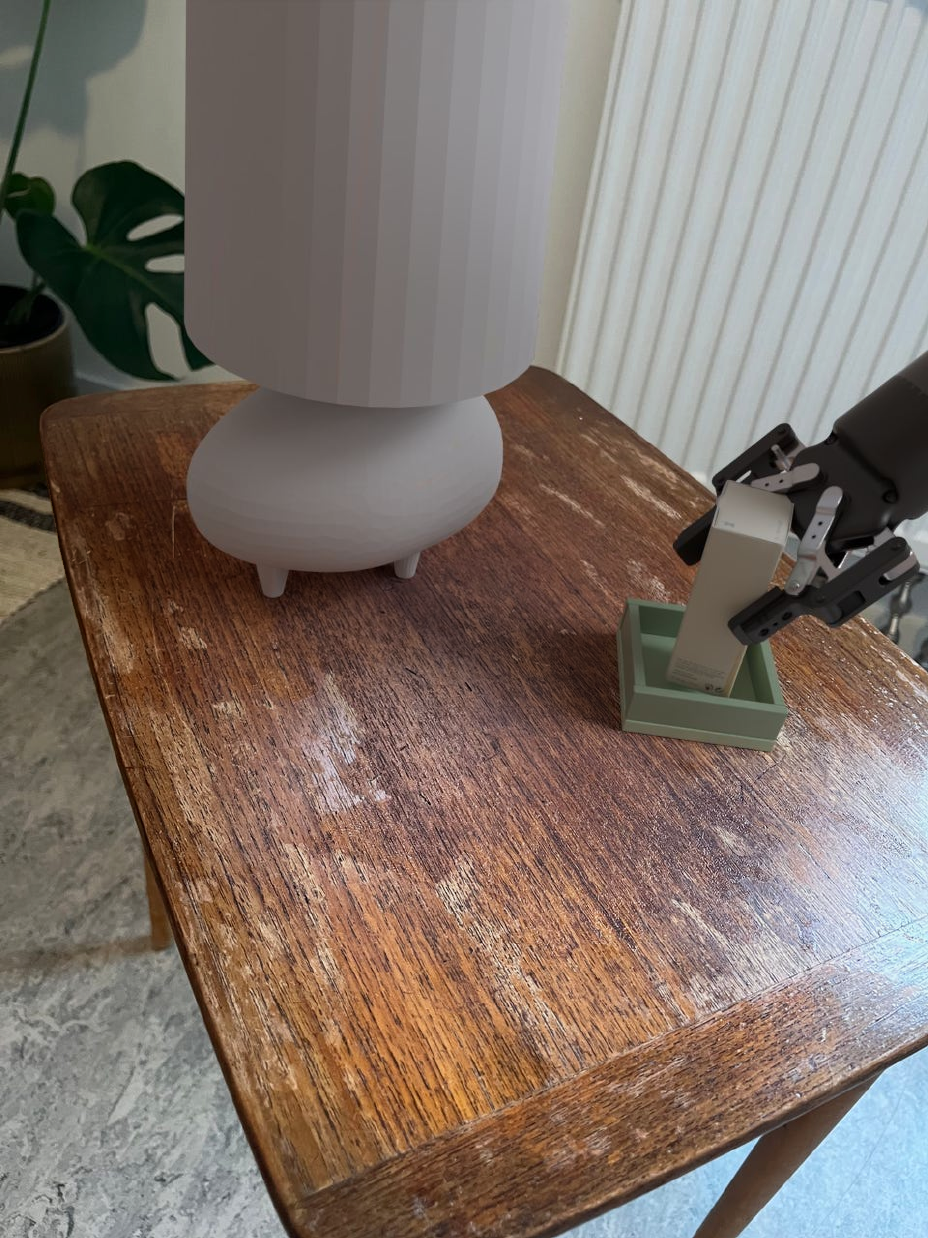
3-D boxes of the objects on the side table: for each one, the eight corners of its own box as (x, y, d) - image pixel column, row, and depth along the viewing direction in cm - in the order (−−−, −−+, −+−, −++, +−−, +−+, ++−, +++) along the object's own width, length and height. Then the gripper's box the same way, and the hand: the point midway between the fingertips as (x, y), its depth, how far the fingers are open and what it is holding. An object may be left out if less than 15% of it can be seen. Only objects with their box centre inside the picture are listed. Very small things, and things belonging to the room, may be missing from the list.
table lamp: (260, 711, 60) (239, -75, 34) (144, 526, 73) (66, -142, 47) (553, 612, 71) (702, -40, 45) (406, 467, 84) (457, -102, 58)
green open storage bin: (771, 752, 62) (789, 714, 60) (621, 731, 62) (634, 692, 60) (749, 652, 70) (764, 615, 68) (615, 633, 70) (626, 596, 68)
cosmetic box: (727, 703, 62) (788, 549, 54) (659, 681, 62) (710, 526, 55) (741, 645, 66) (799, 496, 58) (678, 625, 67) (727, 476, 59)
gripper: (849, 326, 59) (632, 498, 63) (1005, 447, 48) (733, 642, 53) (888, 403, 63) (684, 557, 68) (1038, 528, 53) (786, 700, 57)
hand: (706, 594), depth 60 cm, fingers closed on cosmetic box, 7 cm apart
